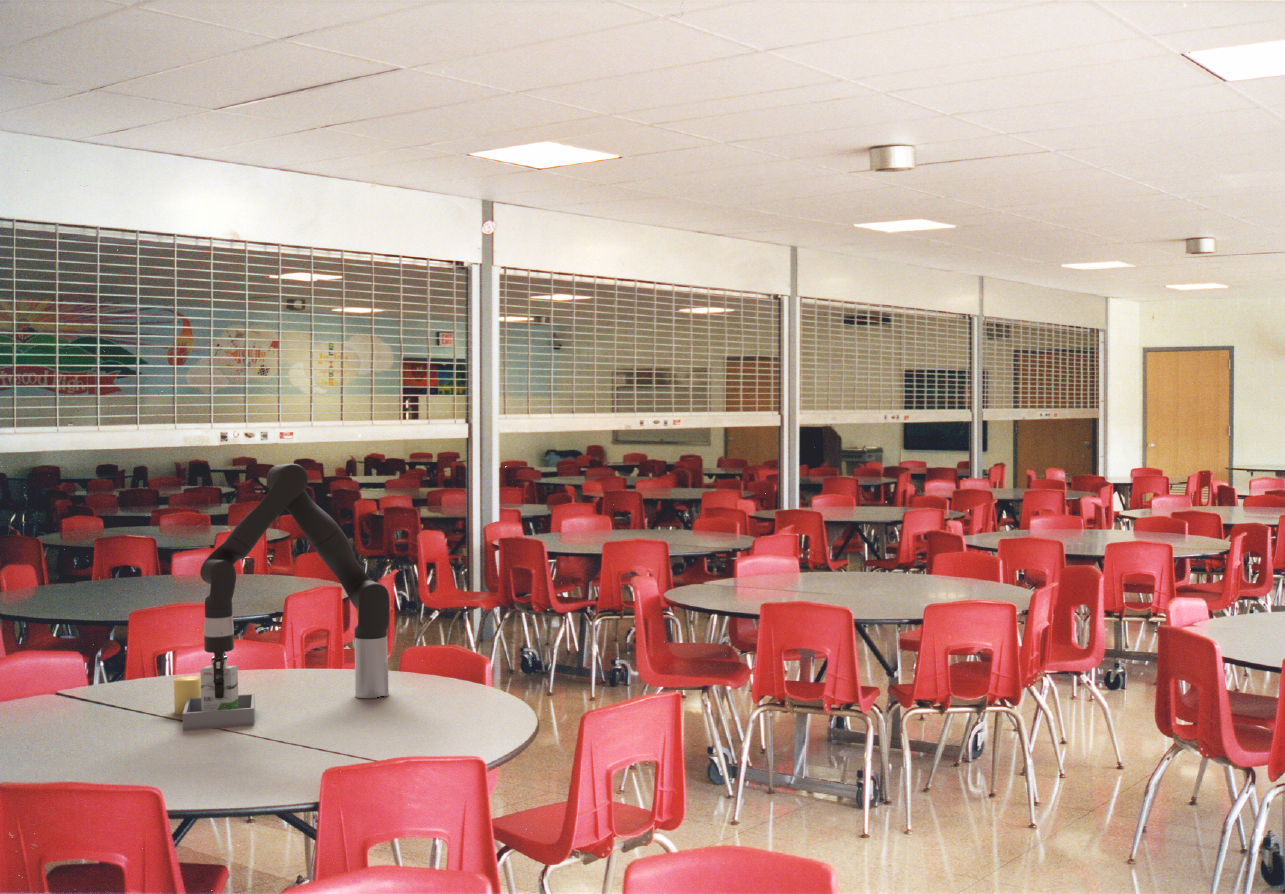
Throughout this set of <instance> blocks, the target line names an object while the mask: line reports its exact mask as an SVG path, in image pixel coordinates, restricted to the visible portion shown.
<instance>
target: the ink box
mask: <svg viewBox="0 0 1285 894" xmlns="http://www.w3.org/2000/svg"><path fill="white" fill-rule="evenodd" d="M224 670H225V671H226V674H225V675H224V681H225V682H224V697H223V698H215V684H214V682H213V680H214V676H213V675H212V665H207V666H204V667H202V668H200V677H201V708H202V711H215V710H229V709H238V708H239V702H238V695H239V675H238V672H239V671H238V665H227V666H226V668H223V671H224ZM219 678H222V675H220V676H216V679H219Z"/></svg>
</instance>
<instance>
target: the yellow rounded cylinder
mask: <svg viewBox="0 0 1285 894" xmlns="http://www.w3.org/2000/svg"><path fill="white" fill-rule="evenodd" d="M173 696H174V697H173V698H174V699H173V701H174V702H173V703H174V709H173V710H174V714H176V715H183V711H184V708H185V705H186V702H187V698H200V697H201V676H195V675H193V676H190V675H188V676H181V677H177V678H174V679H173Z"/></svg>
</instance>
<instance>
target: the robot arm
mask: <svg viewBox="0 0 1285 894" xmlns="http://www.w3.org/2000/svg"><path fill="white" fill-rule="evenodd" d="M308 483H309V476H308V472H307V471H306V469H305V468H304V467H303V466H302V465H299V464H297V463H282V464H278V465H277V464H276V465H275V466H273V467H271V468H270V469H269V470H268V472H267V475H266V484H267V487H268V490H269V491H268V492H267V494H266V495H265V496H264V498H263V499H261V501H260V502H259V503H258V504H257V506H255V507H254V508H253V509H252V510H251V511H250V512H248V513H247V514H246V515H245V516H244V517H243V518H242V519H241V520H240V521H239V523H238V524H237V525H236V526H235V527H234V529H233V530H232V531H231V533H229V535H228V536H227V538H226V539H225V541H224V542H223V543H222V544H220V545H219V546H218V547H217V548H216V549H214V550H213V552H211V554H210V555H208V557H206V558H205V560H204V562H203V563H202V565H201V567H200V570H199V571H200V578H201V579H202V580H203V582H205V583H207V584H209V585H210V588H209V589H210V590H209V594H208V595H207V596H206V597H205V599H204V622H203V639H204V640H203V642H204V643H203V644H204V645H203V646H204V647H203V648H204V652H205V653H208V654H209V653H210V654H211V653H213V655H214V656H212V657H211V661H210V662H211V666H212V675H213V676H214V680H213V682H214V684H215V698H223V697H224V682H225V681H224V675H225V674H226V671H225V670H224V671H223V668H226V666H228V656H227V654H226V652H227V653H228V652H232V651H233V650H234V649H235V636H234V635H235V634H234V633H235V629H234V627H235V625H234V618H233V597H234V593H235V588H236V582H237V572H236V568H235V566H234V565H235V564H236V563H237V562H238V561H239V560H243V559H245V558H246V557H247V556H248V555H249V554H250V552H251V551H252V550H253V549H254V547H255V546H256V544H257V543H259V540H260V539H261V538H262V536H264V534H265V533H266V532H267V530H268V529H269V528H270V526H271V525H272V524H273V523H274V522H275V520H276V519H277V518H278V517H279V516H280V515H281V514H282V513H283V511H284V510H285V509H286V510H287V512H288V513H289V514H290V515H291V517H292V518H293V519H294V521H295V522H296V524H297V526H298V527H299V529H300V530H301V532H302V533H303V534H304V535H305V537H306V538H307V540H308V542H309V543H310V544H311V546H312V548H313V549H314V551H315V552H316V554H318V556H319V557H320V558H321V559H322V561H323V562H324V563H325V565H326V567H328V569H330V571H331V573H333V574H334V575H335V577H336V578H337V579H338V581H339V583H340V584H341V586H342V587H343V589H344V591H345V593H346V595H347V596H348V599H349V601H350V602H351V604H352V605H353V607H354V608H355V609H357V610H358V624H357V625H356V626H355V628H354V677H355V680H354V681H355V682H354V683H355V684H354V686H355V687H354V690H355V693H354V696H355V698H359V699H378V698H377V697H379V698H381V697H380V696H384V697H388V695H389V693H390V691H389V662H388V629H389V626H390V608H391V604H390V603H391V602H390V601H391V600H390V599H391V598H390V593H389V591H388V589H387V587H386V586H385V585H384V584H382V583H380V582H376V581H374V580H372V578H371V577H370V576H369V575H368V573H366V571H365V570H364V569H363V568H362V567H361V565H360V564H359V562H358V560H357V558H356V555H355V553H354V550H353V547H352V544H351V542H350V540H349V538H348V537H347V535H346V534H345V533H344V530H343V529H342V528H341V527H340V525H339V523H337V522H336V521H335V520H334V518H333V517H331V515H329V513H327V512H326V511H325V510H324V509H322V508H321V507H320V506H319V505H318V504H316V502H314V500H313V499H312V498H311V496H310V495H309V494H308V492H307V491H306V488H307V486H308ZM220 675H222V678H219V679H216V676H220Z"/></svg>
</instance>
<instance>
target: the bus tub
mask: <svg viewBox="0 0 1285 894" xmlns="http://www.w3.org/2000/svg"><path fill="white" fill-rule="evenodd" d="M238 702H239V708H238V709H229V710H215V711H202V708H201V697H200V698H187V702H186V705H185V708H184V711H183V714H182V731H183V732H184V731H185V732H187V731H197V730H211V729H223V728H236V727H249V726H251V727H252V726H255V717H256V694H255V693H245V694H238Z"/></svg>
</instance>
